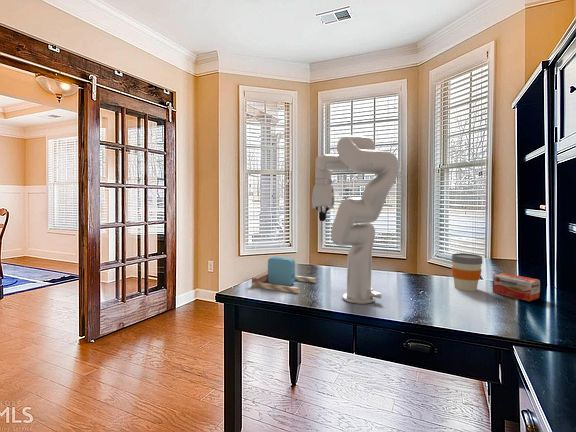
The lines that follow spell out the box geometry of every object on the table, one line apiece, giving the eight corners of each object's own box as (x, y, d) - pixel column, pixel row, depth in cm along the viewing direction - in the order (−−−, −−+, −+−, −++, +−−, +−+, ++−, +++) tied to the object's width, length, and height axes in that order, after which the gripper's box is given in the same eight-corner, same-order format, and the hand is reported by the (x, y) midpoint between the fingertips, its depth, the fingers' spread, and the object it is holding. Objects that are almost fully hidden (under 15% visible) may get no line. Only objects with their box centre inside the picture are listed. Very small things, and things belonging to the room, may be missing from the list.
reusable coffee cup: (449, 289, 160) (450, 256, 159) (451, 283, 171) (452, 252, 170) (481, 293, 154) (482, 259, 153) (481, 287, 165) (482, 254, 164)
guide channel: (316, 282, 171) (316, 273, 170) (298, 293, 152) (298, 284, 152) (273, 276, 181) (273, 268, 180) (251, 286, 162) (251, 277, 162)
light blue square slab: (294, 284, 167) (295, 258, 166) (290, 286, 163) (290, 260, 162) (272, 281, 172) (272, 256, 171) (267, 283, 168) (267, 257, 167)
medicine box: (492, 292, 157) (493, 274, 156) (502, 290, 161) (503, 272, 160) (530, 302, 144) (531, 282, 143) (539, 299, 148) (541, 279, 148)
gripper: (340, 182, 171) (339, 221, 172) (311, 182, 178) (311, 219, 179) (335, 182, 164) (334, 222, 166) (305, 182, 171) (305, 220, 172)
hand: (322, 220), depth 172 cm, fingers closed
